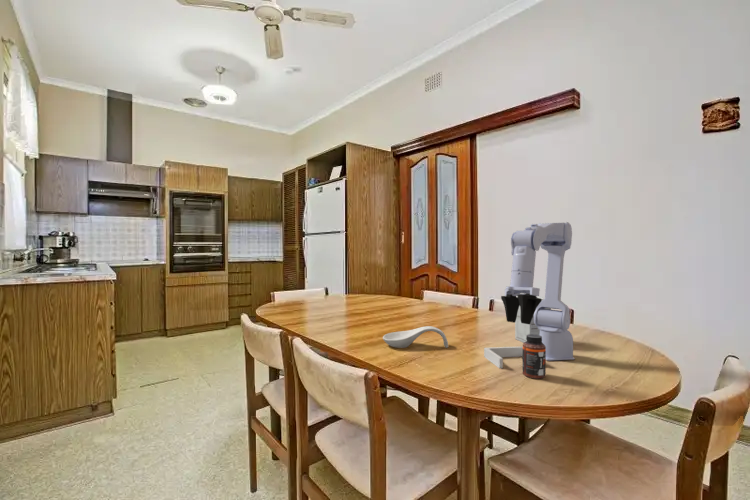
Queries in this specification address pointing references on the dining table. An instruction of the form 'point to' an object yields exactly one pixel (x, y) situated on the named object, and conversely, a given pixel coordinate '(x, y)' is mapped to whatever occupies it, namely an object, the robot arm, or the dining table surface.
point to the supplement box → (525, 327)
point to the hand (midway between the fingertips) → (517, 322)
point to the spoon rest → (410, 336)
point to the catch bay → (501, 354)
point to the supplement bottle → (534, 357)
